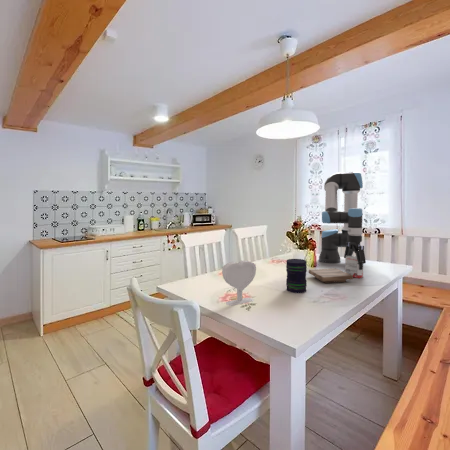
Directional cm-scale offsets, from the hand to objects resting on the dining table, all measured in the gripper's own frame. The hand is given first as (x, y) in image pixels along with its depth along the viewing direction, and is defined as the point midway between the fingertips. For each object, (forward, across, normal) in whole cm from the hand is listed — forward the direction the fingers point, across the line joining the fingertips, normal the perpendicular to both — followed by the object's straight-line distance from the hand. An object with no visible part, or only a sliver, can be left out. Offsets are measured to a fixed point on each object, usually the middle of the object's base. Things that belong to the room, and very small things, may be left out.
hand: (354, 272), depth 158 cm
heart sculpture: (+2, +27, -74) cm, 79 cm away
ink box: (+2, 0, 0) cm, 2 cm away
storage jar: (+2, +17, -43) cm, 46 cm away
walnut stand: (+2, +3, -17) cm, 17 cm away
